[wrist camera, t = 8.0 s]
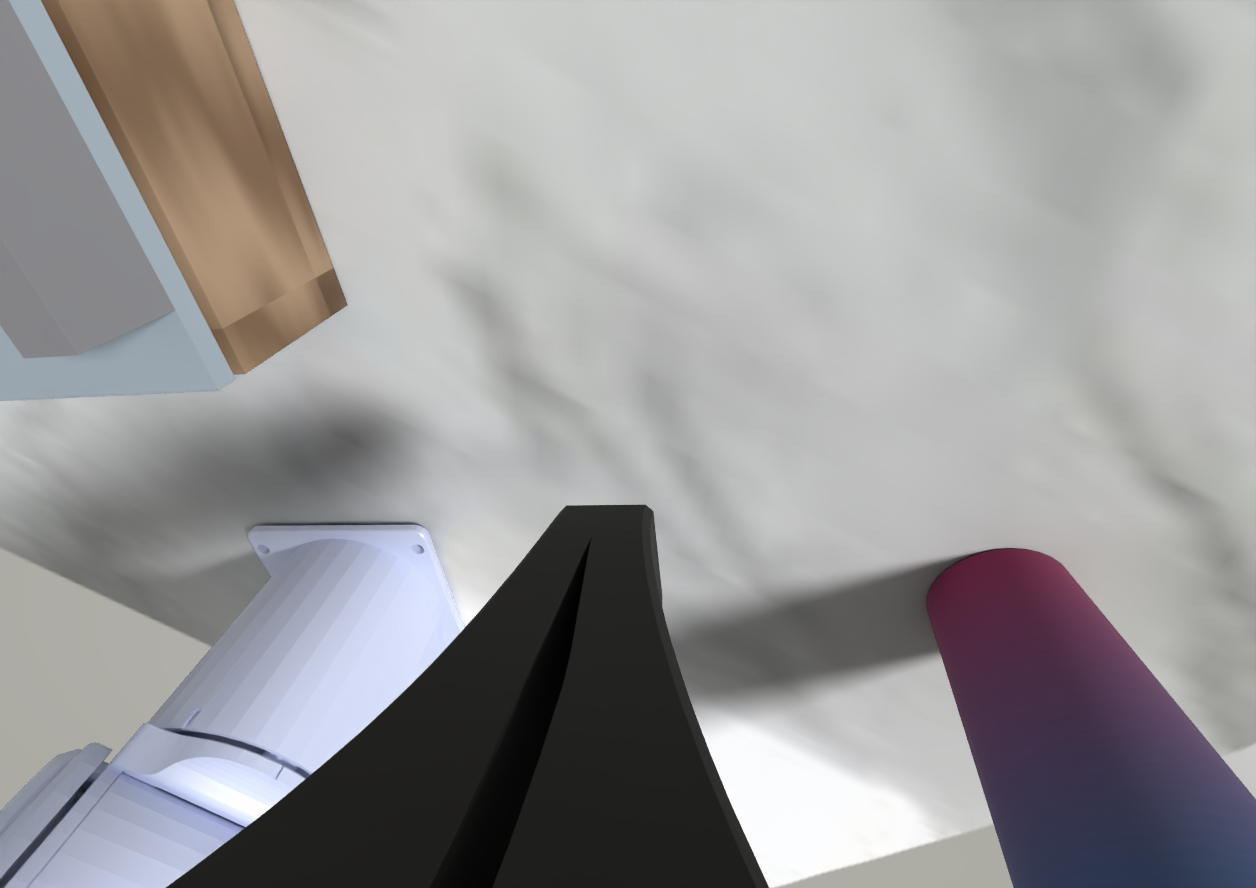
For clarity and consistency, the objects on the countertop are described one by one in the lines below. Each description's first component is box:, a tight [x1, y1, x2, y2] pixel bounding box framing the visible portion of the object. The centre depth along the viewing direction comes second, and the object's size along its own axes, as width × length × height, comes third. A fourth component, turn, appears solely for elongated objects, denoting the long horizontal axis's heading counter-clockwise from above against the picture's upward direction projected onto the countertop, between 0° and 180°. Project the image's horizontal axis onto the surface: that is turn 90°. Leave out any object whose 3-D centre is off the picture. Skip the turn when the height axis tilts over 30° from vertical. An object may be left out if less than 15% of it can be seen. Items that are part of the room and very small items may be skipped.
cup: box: [926, 549, 1256, 888], centre depth 16 cm, size 7×7×15 cm
